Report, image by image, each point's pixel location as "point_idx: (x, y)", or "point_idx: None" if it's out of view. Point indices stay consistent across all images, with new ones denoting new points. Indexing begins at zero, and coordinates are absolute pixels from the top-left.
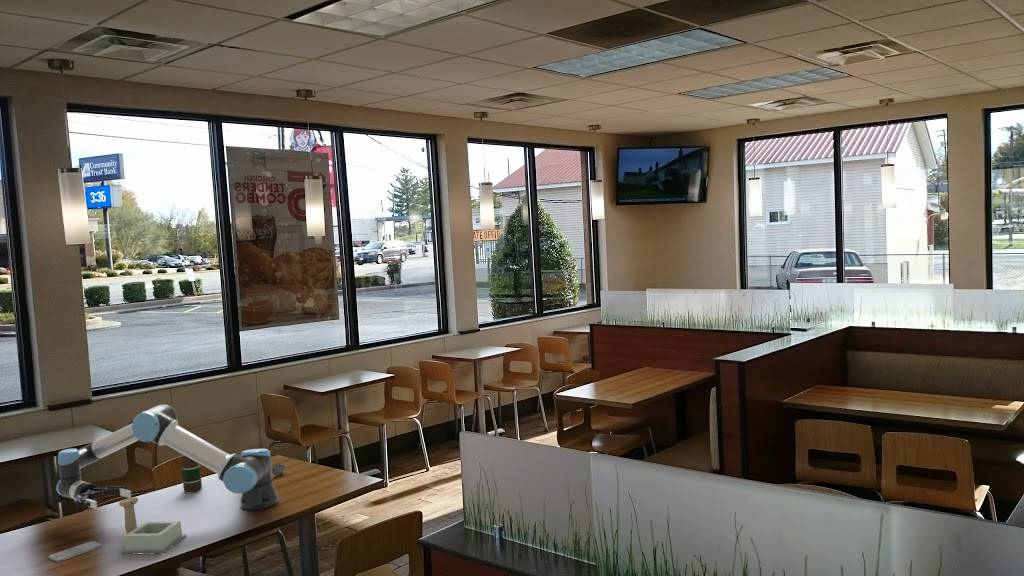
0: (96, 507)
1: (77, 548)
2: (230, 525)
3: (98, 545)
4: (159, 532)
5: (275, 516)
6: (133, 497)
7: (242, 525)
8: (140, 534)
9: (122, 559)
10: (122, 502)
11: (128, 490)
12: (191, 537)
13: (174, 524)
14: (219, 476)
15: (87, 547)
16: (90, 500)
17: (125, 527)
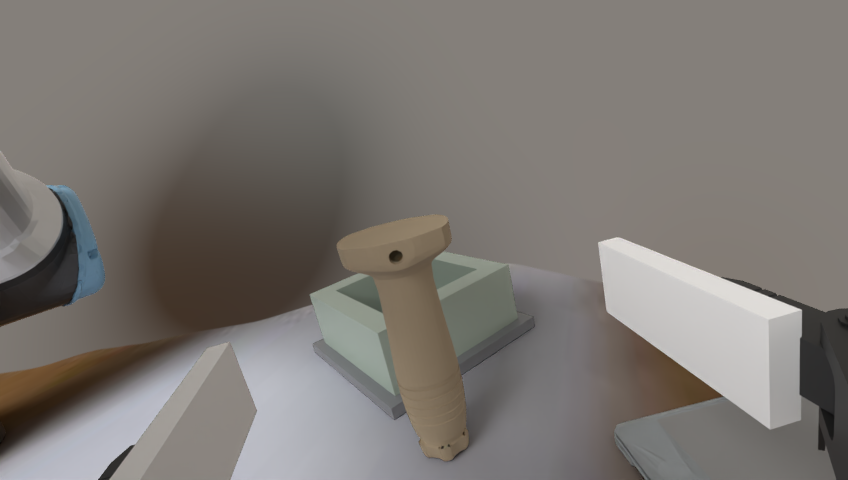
0: (611, 300)
1: (790, 460)
2: (190, 361)
3: (633, 426)
4: None
5: (104, 357)
6: (344, 248)
7: (187, 347)
8: (458, 260)
9: (538, 301)
10: (435, 219)
11: (203, 362)
12: (313, 341)
13: (343, 281)
14: (60, 233)
15: (706, 436)
16: (679, 265)
17: (461, 376)
